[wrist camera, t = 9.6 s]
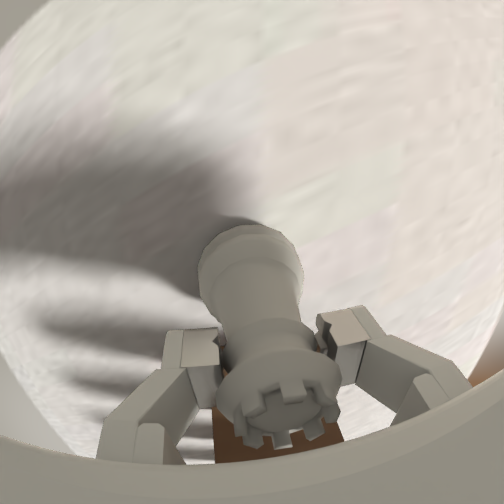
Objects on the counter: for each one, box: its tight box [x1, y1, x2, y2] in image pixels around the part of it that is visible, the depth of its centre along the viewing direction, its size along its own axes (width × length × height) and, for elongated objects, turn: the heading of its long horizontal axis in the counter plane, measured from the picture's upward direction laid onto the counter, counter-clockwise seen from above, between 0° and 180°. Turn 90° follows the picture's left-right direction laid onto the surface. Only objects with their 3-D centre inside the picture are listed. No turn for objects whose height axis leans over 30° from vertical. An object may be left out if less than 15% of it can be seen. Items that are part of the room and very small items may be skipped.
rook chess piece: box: [197, 225, 343, 450], centre depth 9 cm, size 4×4×8 cm
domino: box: [212, 346, 344, 464], centre depth 11 cm, size 2×5×10 cm, turn 93°
